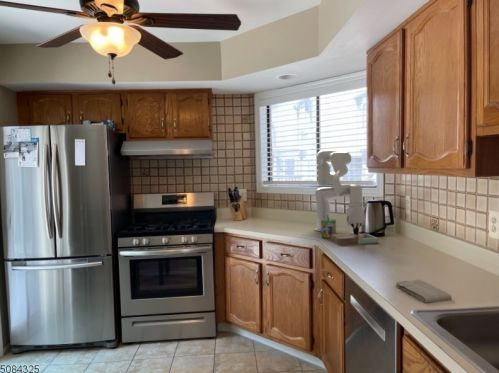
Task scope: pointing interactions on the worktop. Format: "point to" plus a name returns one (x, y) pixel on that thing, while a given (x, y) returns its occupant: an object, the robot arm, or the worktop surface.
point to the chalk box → (328, 227)
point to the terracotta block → (359, 236)
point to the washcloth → (423, 291)
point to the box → (367, 239)
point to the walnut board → (344, 239)
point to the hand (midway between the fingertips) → (355, 234)
